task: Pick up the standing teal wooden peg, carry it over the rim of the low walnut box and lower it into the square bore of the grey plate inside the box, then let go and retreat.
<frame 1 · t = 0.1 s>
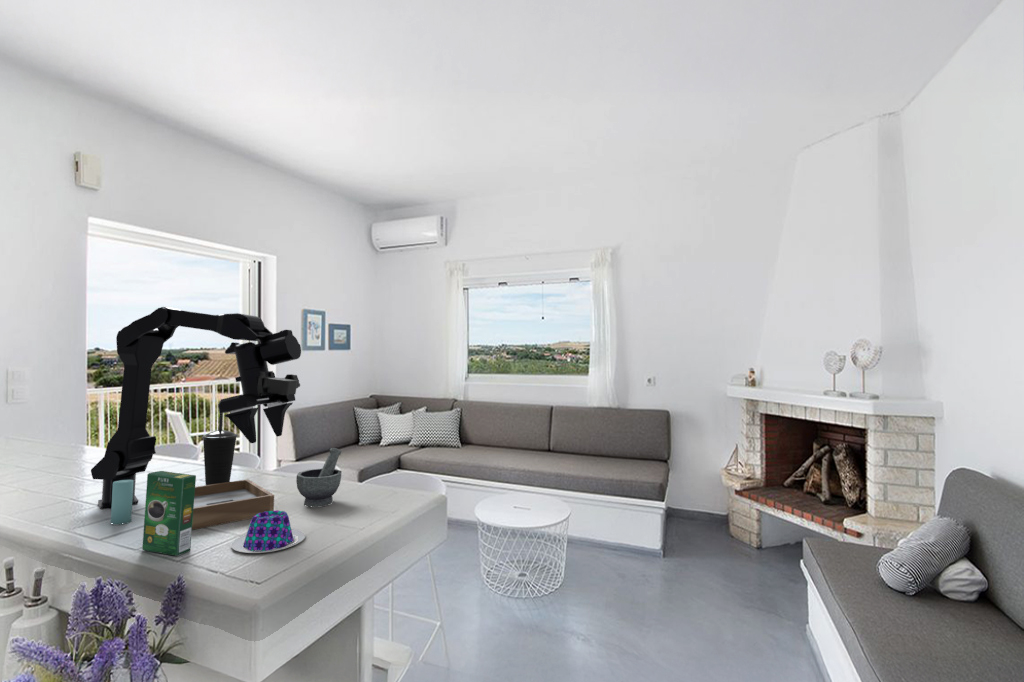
hand: (266, 439, 104), 15 cm above the worktop, tool pointing down, fingers open, 9 cm apart
patterned hat: (268, 545, 86), on the worktop
insert box: (219, 511, 103), on the worktop
coffee box: (167, 552, 81), on the worktop
peg: (120, 522, 95), on the worktop
mortar and pestle: (320, 503, 111), on the worktop
drinking cup: (217, 491, 119), on the worktop
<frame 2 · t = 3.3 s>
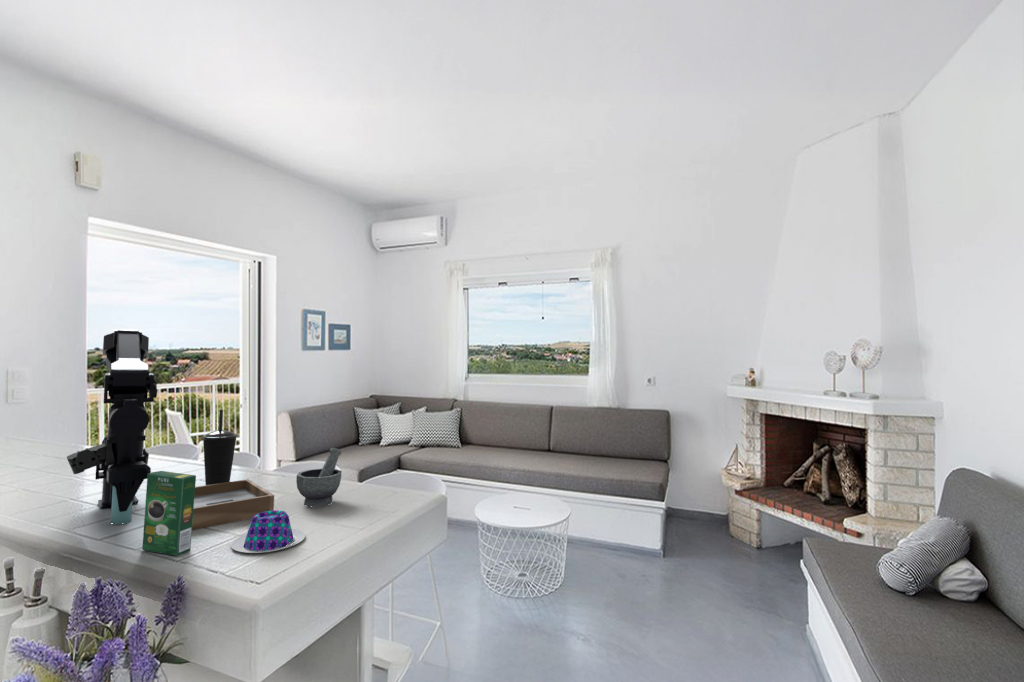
hand: (121, 509, 95), 3 cm above the worktop, tool pointing down, fingers closed on peg, 3 cm apart
peg: (120, 522, 95), on the worktop, touching gripper
everything else where it was.
when the fingers open (3 cm above the worktop, at t = 6.9 s): peg drops 1 cm, resting in insert box.
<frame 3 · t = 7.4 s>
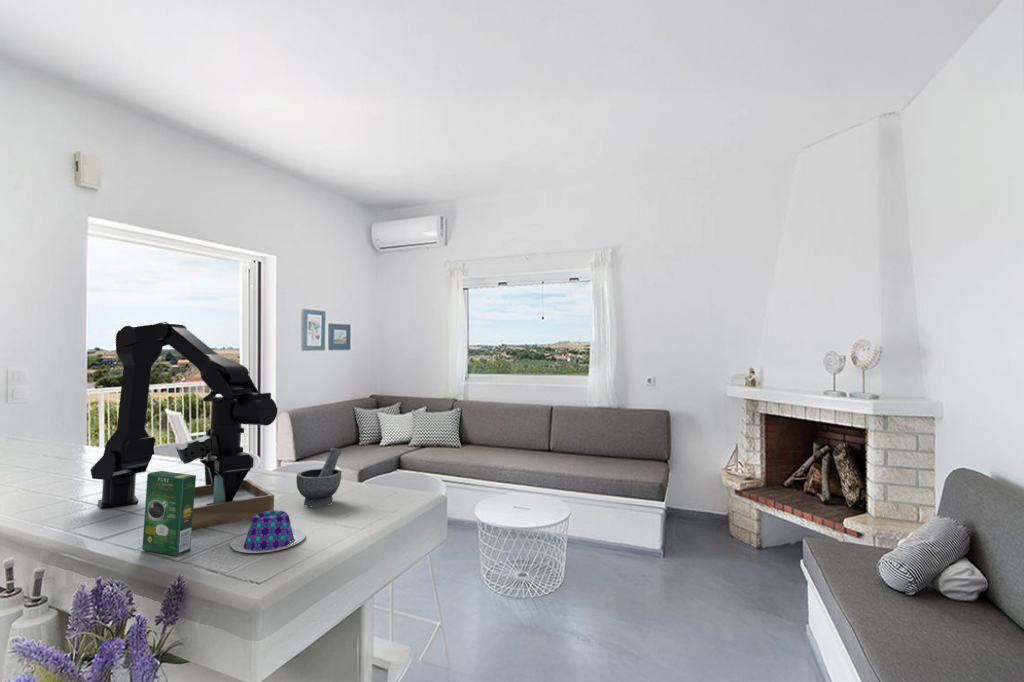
hand: (222, 497, 101), 3 cm above the worktop, tool pointing down, fingers open, 9 cm apart
peg: (221, 514, 101), resting in insert box
everything else where it was.
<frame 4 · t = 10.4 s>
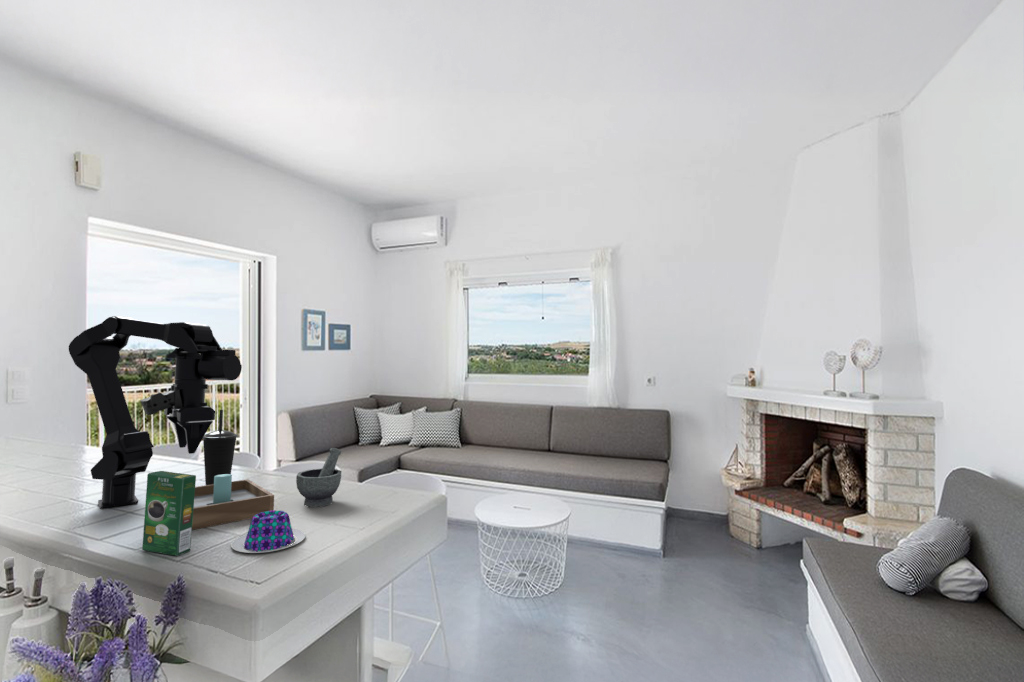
hand: (186, 450, 105), 13 cm above the worktop, tool pointing down, fingers open, 9 cm apart
at the end: peg 0.1 cm from the target spot on the insert box, point 0.0 cm above the insert box's base; peg tilted 0°; the gripper is holding nothing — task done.
